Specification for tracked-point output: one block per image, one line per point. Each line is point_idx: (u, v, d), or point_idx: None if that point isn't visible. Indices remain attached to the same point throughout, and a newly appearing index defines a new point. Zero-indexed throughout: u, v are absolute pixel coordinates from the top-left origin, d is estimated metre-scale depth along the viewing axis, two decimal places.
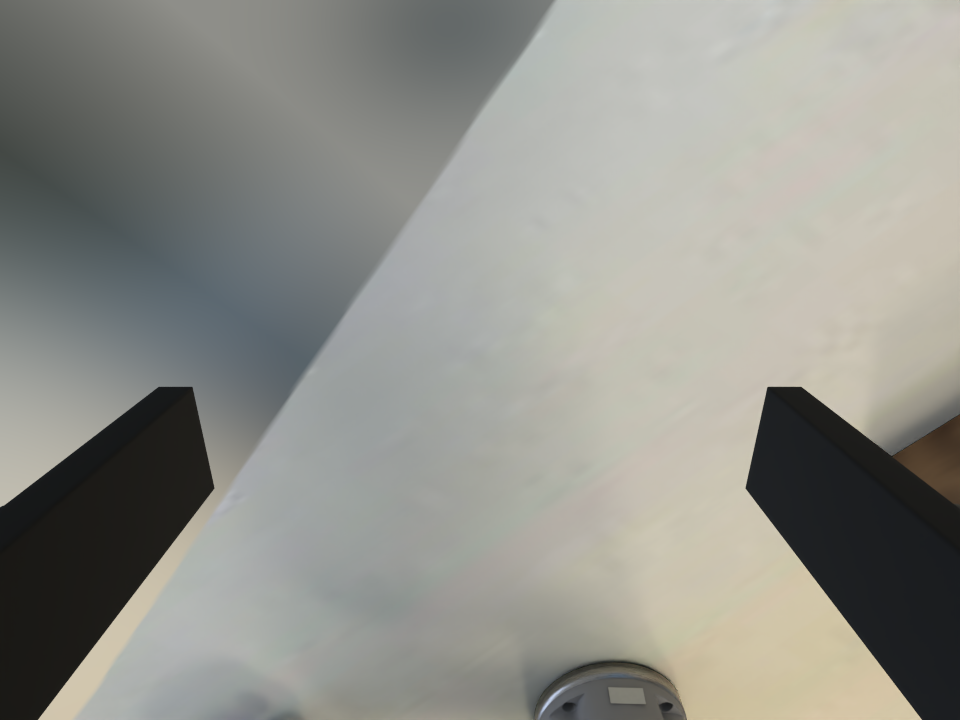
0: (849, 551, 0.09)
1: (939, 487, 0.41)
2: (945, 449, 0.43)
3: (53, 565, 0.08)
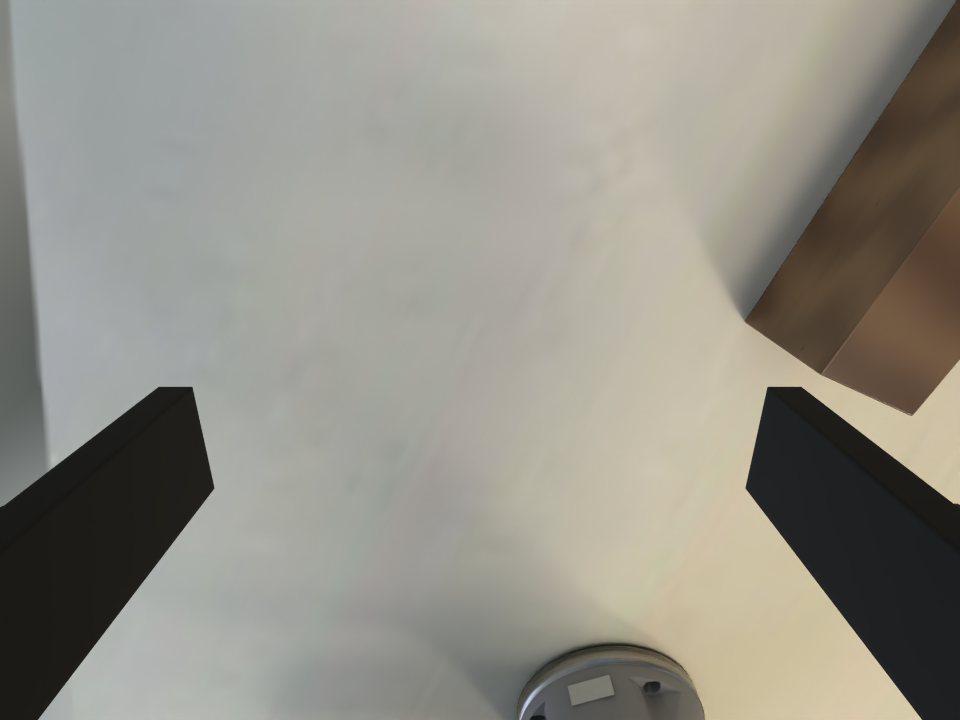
0: (849, 551, 0.09)
1: (817, 301, 0.28)
2: (820, 245, 0.30)
3: (52, 565, 0.08)
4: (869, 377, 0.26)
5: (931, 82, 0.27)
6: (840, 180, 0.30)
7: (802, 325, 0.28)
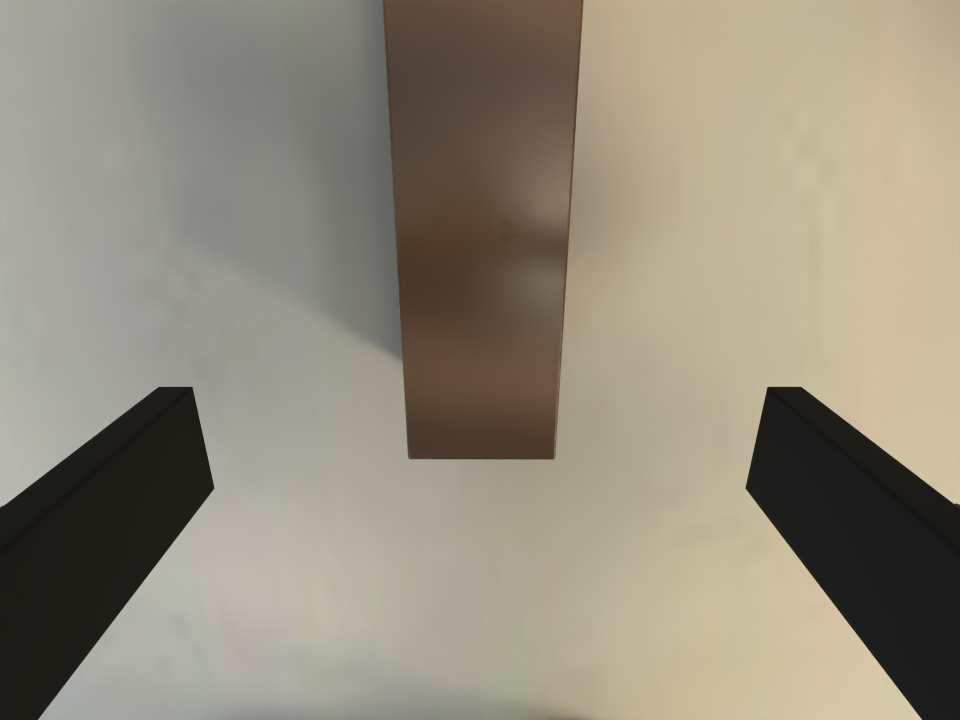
0: (849, 551, 0.09)
1: None
2: None
3: (52, 565, 0.08)
4: (467, 440, 0.20)
5: None
6: None
7: None
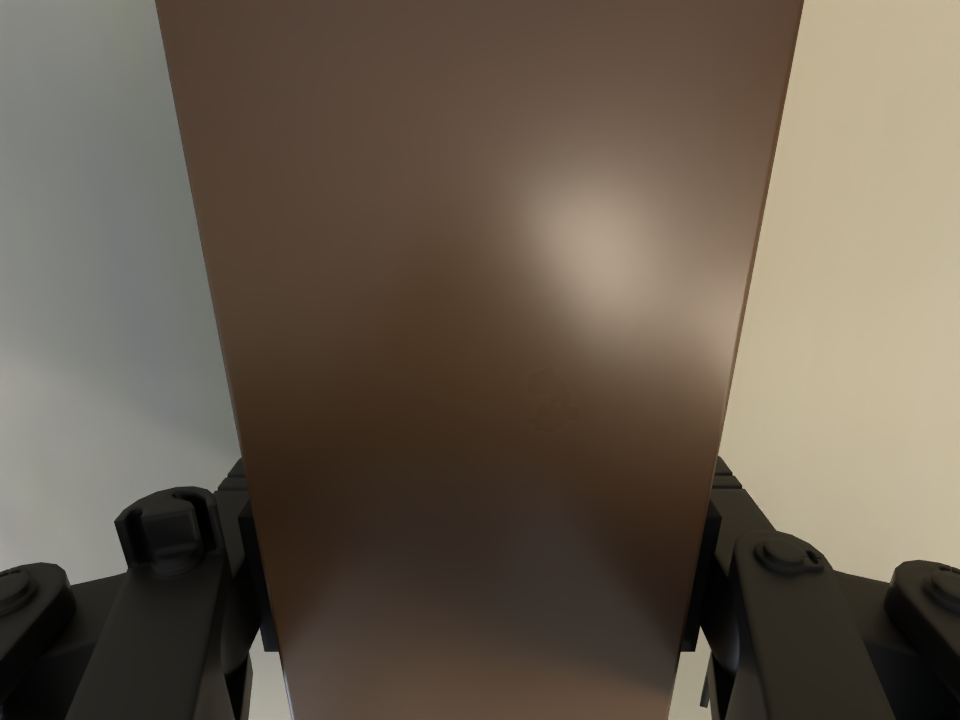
0: None
1: None
2: None
3: None
4: None
5: None
6: None
7: None
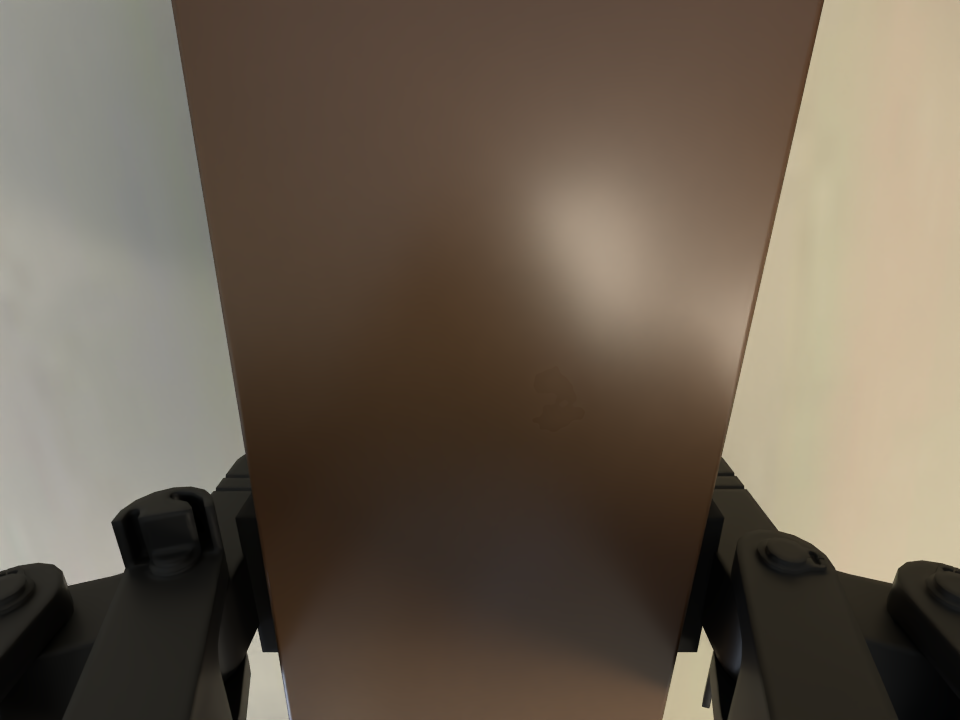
0: None
1: None
2: None
3: None
4: None
5: None
6: None
7: None
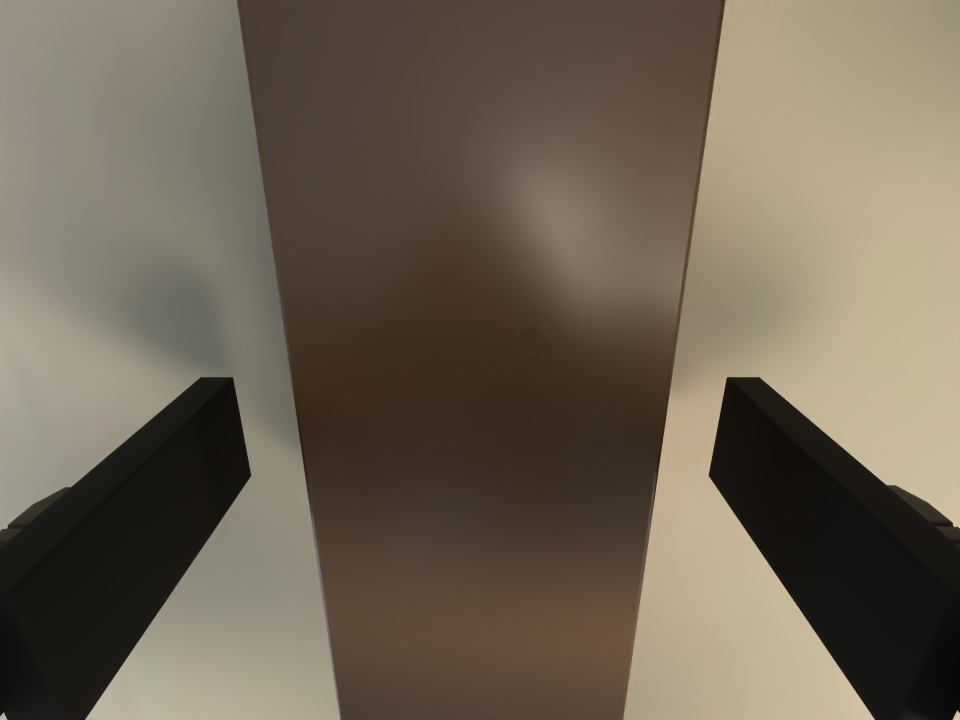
0: (793, 531, 0.10)
1: None
2: None
3: (119, 540, 0.09)
4: None
5: None
6: None
7: None
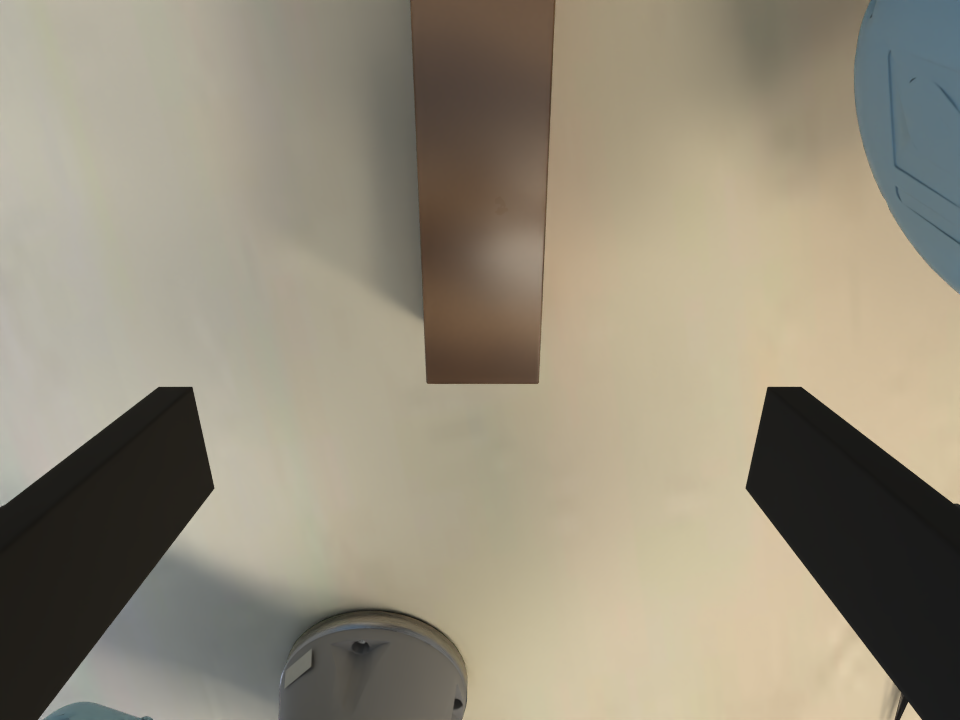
0: (849, 551, 0.09)
1: None
2: None
3: (52, 564, 0.08)
4: (471, 368, 0.27)
5: None
6: None
7: None
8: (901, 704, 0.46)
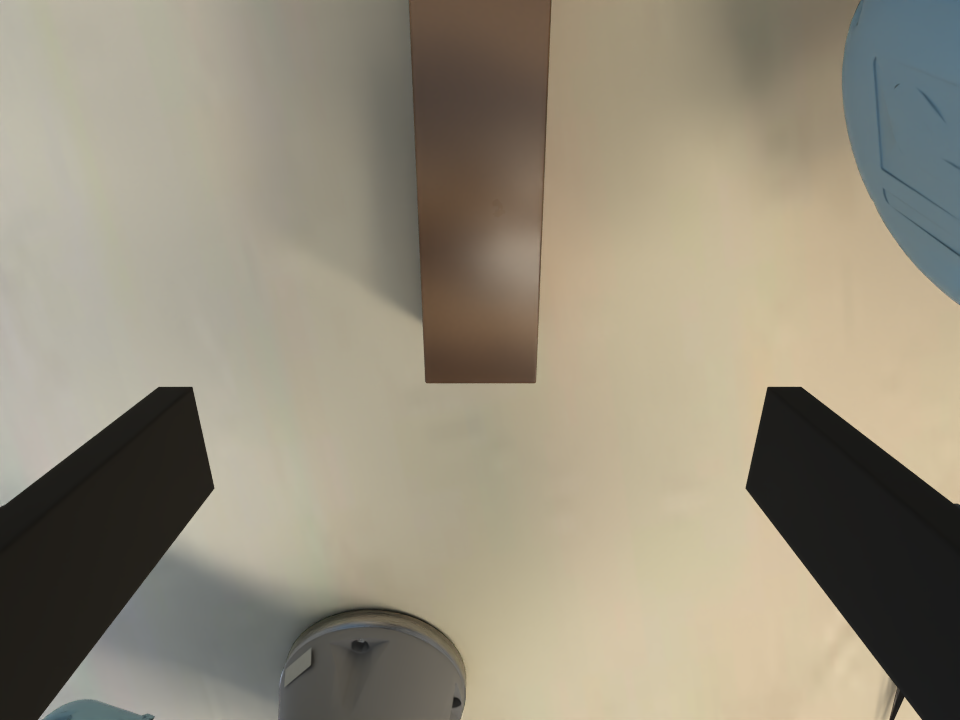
0: (849, 551, 0.09)
1: None
2: None
3: (52, 565, 0.08)
4: (469, 368, 0.27)
5: None
6: None
7: None
8: (896, 702, 0.47)
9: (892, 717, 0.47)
